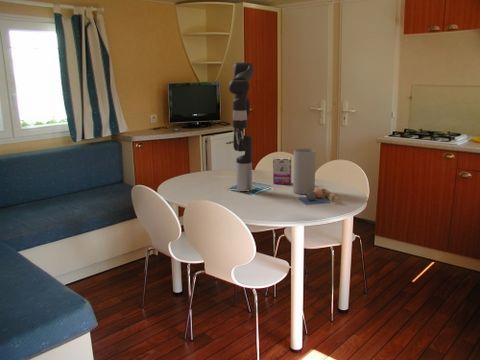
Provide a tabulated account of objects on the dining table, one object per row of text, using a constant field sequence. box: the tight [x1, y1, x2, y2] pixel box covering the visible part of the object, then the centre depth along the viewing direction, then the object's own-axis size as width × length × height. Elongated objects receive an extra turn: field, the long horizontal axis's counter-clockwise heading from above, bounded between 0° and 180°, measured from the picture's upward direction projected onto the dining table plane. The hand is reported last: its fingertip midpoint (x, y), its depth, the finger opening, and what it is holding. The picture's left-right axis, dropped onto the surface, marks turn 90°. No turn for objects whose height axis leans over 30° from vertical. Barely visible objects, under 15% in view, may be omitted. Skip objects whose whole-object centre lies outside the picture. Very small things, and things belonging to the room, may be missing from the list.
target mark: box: [297, 196, 331, 206], centre depth 255 cm, size 14×14×1 cm
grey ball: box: [305, 191, 316, 201], centre depth 253 cm, size 6×6×6 cm
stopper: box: [320, 188, 340, 205], centre depth 256 cm, size 20×2×4 cm, turn 13°
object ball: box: [313, 188, 324, 199], centre depth 257 cm, size 6×6×6 cm
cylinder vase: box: [292, 148, 316, 195], centre depth 269 cm, size 12×12×25 cm
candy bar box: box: [272, 157, 292, 185], centre depth 290 cm, size 11×5×16 cm, turn 76°
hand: (240, 151), depth 245 cm, fingers closed
